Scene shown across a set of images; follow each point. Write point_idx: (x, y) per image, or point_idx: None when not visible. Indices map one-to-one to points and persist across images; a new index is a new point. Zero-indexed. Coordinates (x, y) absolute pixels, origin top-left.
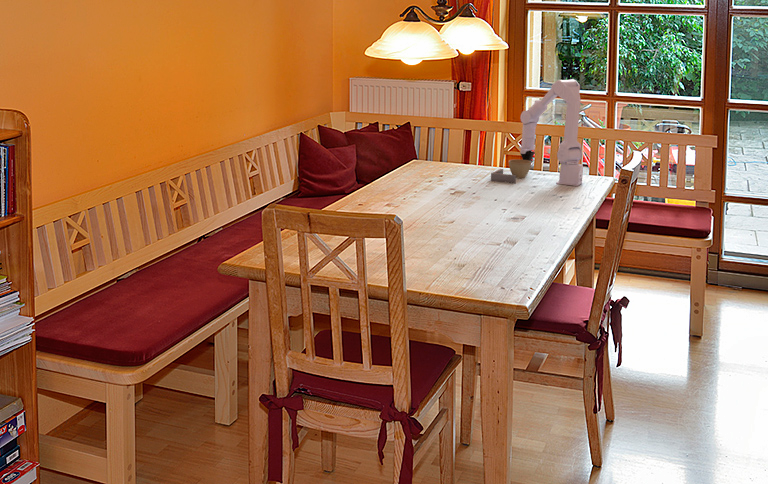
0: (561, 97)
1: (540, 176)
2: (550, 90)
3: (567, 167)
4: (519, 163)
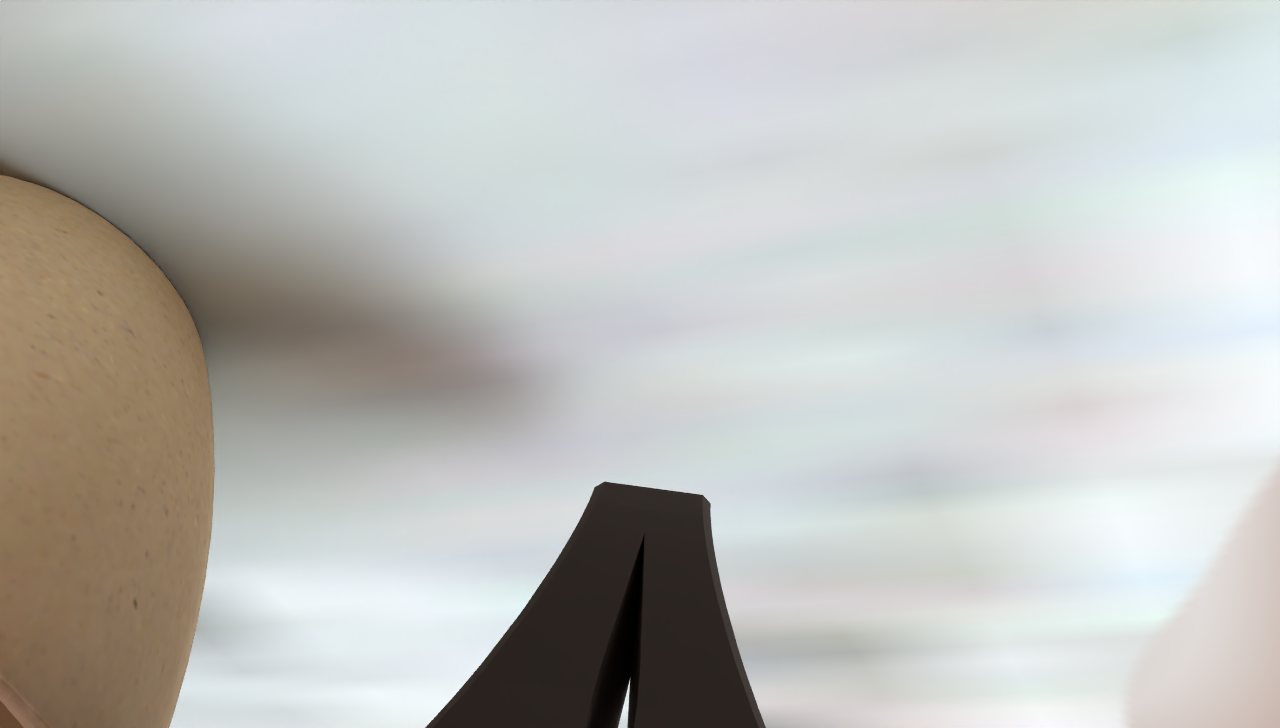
0: None
1: None
2: None
3: None
4: (74, 535)
